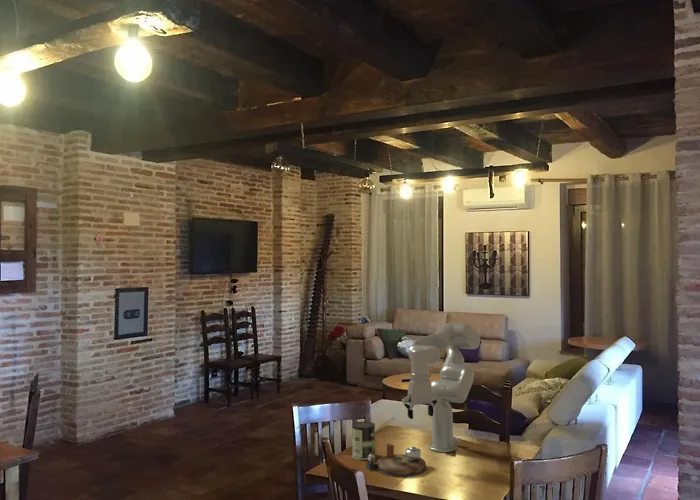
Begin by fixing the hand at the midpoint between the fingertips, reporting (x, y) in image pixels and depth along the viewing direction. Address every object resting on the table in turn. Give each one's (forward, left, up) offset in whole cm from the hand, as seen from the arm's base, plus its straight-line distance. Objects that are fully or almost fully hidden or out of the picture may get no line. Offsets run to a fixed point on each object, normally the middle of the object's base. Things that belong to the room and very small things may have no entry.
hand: (420, 417), depth 251 cm
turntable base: (+11, +2, -19) cm, 23 cm away
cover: (+5, +2, -17) cm, 18 cm away
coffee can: (+17, -19, -20) cm, 33 cm away
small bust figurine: (+22, -4, -19) cm, 30 cm away
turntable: (+11, +2, -19) cm, 23 cm away
